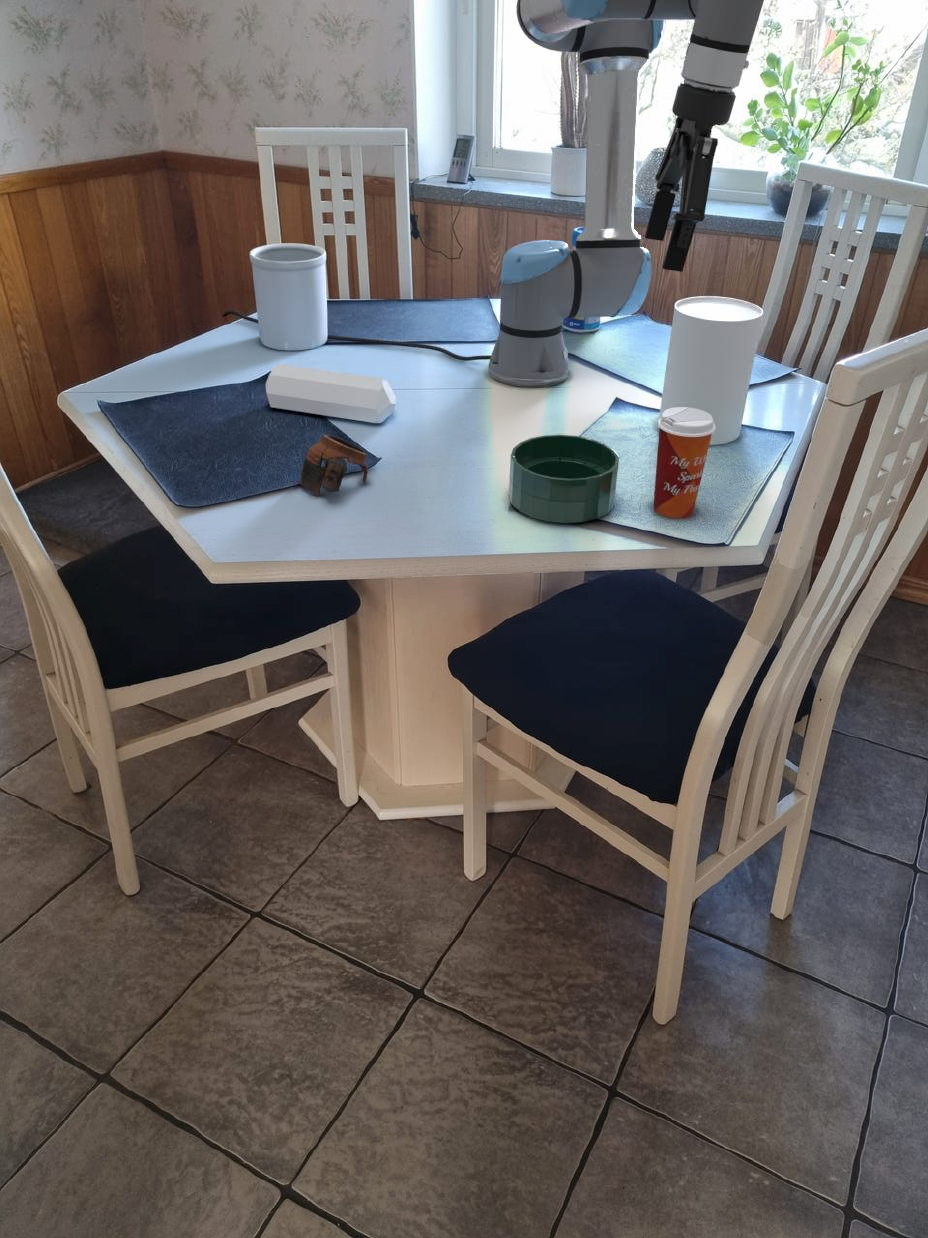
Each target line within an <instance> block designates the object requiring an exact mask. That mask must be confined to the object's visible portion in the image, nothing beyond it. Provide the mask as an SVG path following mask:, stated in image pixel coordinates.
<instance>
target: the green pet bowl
mask: <svg viewBox="0 0 928 1238" xmlns="http://www.w3.org/2000/svg"><path fill="white" fill-rule="evenodd" d="M509 459H510V461H509V484H508V498H509V501H510V503H511V505H512V506H513V507H514V508H515V509H516V510H517V511H519V512H520V513H522V514H524V515H526V516H529V517H531V518H533V519H536V520H541V521H546V522H548V523H549V522H550V523H560V524H574V523H584V522H588V521H592V520H597V519H599V518H602V517H603V516H605V515H607V514H609V512H610V511H611V510H612V509H613V508H614V507H615V506H614V505H615V499H616V489H617V482H618V473H619V463H620V456H619V455H618V454H617V452H616V450H614V449H613V448H612V447H610V446H608V445H607V444H605V443H603V442H601V441H598V440H595V439H593V438H588V437H584V436H579V435H571V434H570V435H568V434H547V435H539V436H535V437H530V438H528V439H526V440H523V441H521V442H519V443H518V444H516V445H515V446H513V447H512V449H511V453H510V458H509Z"/></svg>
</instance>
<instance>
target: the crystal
mask: <svg viewBox="0 0 928 1238" xmlns="http://www.w3.org/2000/svg"><path fill="white" fill-rule="evenodd" d="M264 386H265V393H266V397H267V400H268V404H269V407H270V408H275V409H282V410H287V411H295V412H301V413H306V414H313V415H314V414H315V415H318V416H319V415H320V416H327V417H332V418H333V417H334V418H340V419H345V420H346V419H347V420H353V421H359V422H367V423H371V424H372V423H373V424H382V423H383V422H384V421H385V420H386V419H388V418H389V417H390V416H391V415H392V414H393V413H394V412H395V409H396V404H397V403H396V402H397V398H396V395H395V393H394V391H393V389H392V387H391V385H390V383H389V381H388V380H386V379H384V378H383V377H376V376H369V375H361V374H356V373H355V374H354V373H348V372H347V373H346V372H341V371H332V370H327V369H319V368H312V367H305V366H304V367H303V366H298V365H292V364H291V365H290V364H283V363H276V364H275V366H274V367H273V369H272V370H271V372H269V374H268V376H267V379H266V382H265V385H264Z"/></svg>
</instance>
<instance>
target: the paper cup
mask: <svg viewBox="0 0 928 1238" xmlns="http://www.w3.org/2000/svg"><path fill="white" fill-rule="evenodd" d="M658 426H659V428H658V440H657V441H658V442H657V451H656V452H657V454H656V467H655V480H654V493H653V509H654V511H655V512H656V514H658V515H660V516H662V517H665V518H670V519H685V518H688V517H690V516H692V515H693V513H694V509H695V506H696V502H697V498H698V495H699V494H698V493H699V490H700V486H701V482H702V479H703V473H704V469H705V464H706V461H707V458H708V457H707V456H708V452H709V448H710V445H709V444H710V440H711V436H712V433H713V432H714V431H715V428H716V427H715V424H714V422H713V418H712V416H711V415H710V414H709V413H707V412H705V411H703V410H700V409H695V408H690V407H675V408H670V409H667V410H665V411H664V412H663V414H662V416H661V418H660V419H659V418H658V420H657V427H658Z"/></svg>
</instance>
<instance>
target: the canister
mask: <svg viewBox="0 0 928 1238" xmlns="http://www.w3.org/2000/svg"><path fill="white" fill-rule="evenodd" d="M672 315H673V316H672V321H671V322H672V323H671V330H670V335H669V336H670V337H669V344H668V351H667V359H666V365H665V373H664V380H663V387H662V395H661V401H660V409H659V417H658V420H659V419H660V418H661V416H662V414H663V412H664V411H665V410H667V409H670V408H675V407H690V408H695V409H700V410H703V411H705V412H707V413H709V414H710V415H711V416H712V418H713V422H714V424H715V427H716V428H715V431H714V432H713V433H712V436H711V440H710V444H709V446H718V445H723V444H724V445H725V444H728V443H731V442H733V441H736V440H737V439H738V438H739V437H740V435H741V430H742V425H743V419H744V415H745V411H746V410H745V409H746V404H747V400H748V393H749V389H750V388H749V387H750V383H751V378H752V373H753V367H754V363H755V357H756V351H757V347H758V342H759V336H760V331H761V326H762V320H763V315H764V310H763V308H762V307H760V306H759V305H757V304H755V303H753V302H750V301H747V300H743V299H738V298H734V297H725V296H716V295H715V296H714V295H703V296H702V295H700V296H691V297H686V298H682V299H679V300H677V301H676V302H675V304H674V307H673V314H672ZM657 427H658V429H659V426H658V425H657Z"/></svg>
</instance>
